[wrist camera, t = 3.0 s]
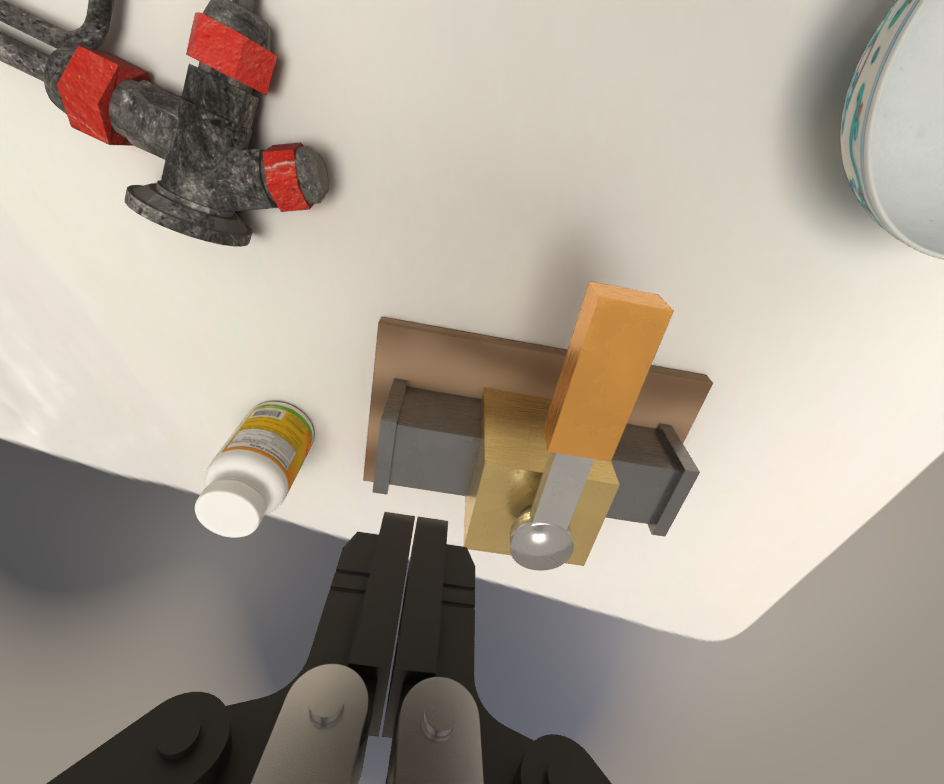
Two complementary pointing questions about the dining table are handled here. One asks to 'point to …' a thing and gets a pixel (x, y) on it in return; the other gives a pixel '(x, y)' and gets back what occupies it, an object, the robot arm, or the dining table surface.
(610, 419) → the valve lever
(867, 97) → the chinaware
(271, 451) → the supplement bottle
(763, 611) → the dining table surface
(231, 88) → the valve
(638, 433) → the valve and pipe
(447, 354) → the walnut board
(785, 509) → the dining table surface
